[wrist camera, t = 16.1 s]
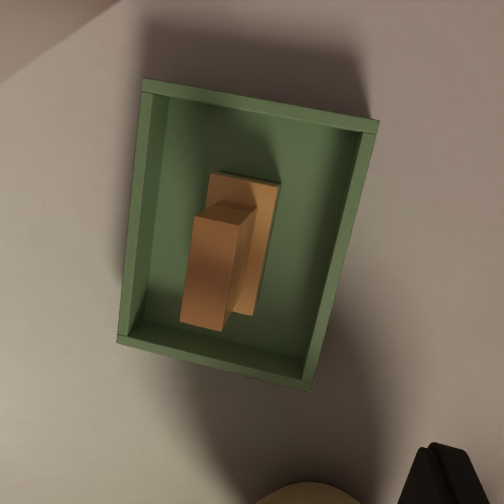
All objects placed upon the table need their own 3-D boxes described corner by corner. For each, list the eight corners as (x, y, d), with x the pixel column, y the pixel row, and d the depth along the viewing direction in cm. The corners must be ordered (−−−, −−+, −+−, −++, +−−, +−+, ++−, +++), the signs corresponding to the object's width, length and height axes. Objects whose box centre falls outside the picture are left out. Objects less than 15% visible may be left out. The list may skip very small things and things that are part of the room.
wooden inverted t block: (221, 170, 29) (178, 181, 20) (282, 182, 28) (265, 199, 20) (202, 287, 31) (158, 341, 23) (258, 300, 31) (234, 360, 22)
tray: (164, 85, 29) (142, 76, 25) (372, 123, 27) (380, 120, 24) (137, 322, 34) (115, 343, 30) (311, 365, 33) (309, 392, 29)
